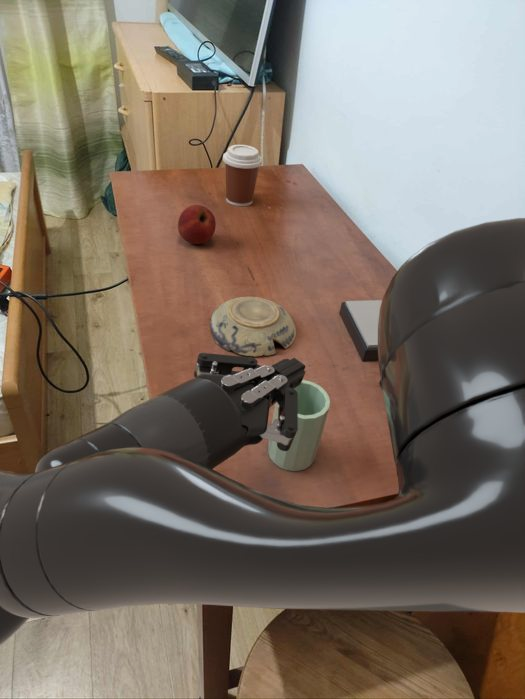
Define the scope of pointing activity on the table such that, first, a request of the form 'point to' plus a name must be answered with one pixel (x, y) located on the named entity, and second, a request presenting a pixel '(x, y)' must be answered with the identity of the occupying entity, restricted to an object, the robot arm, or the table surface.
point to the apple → (196, 224)
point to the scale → (363, 326)
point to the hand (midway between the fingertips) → (297, 368)
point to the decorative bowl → (252, 326)
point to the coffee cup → (241, 174)
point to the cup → (303, 428)
